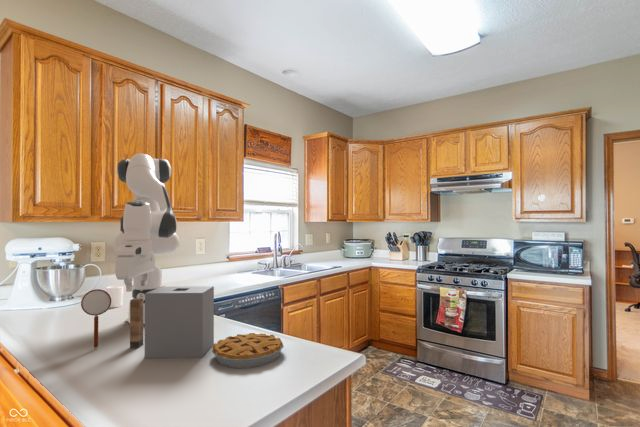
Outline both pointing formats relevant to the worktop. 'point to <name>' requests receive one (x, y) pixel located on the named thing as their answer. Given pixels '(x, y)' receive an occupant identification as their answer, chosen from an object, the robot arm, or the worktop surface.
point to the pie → (247, 350)
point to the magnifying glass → (96, 307)
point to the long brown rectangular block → (136, 322)
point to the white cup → (115, 295)
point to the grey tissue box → (179, 322)
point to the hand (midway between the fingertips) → (137, 288)
